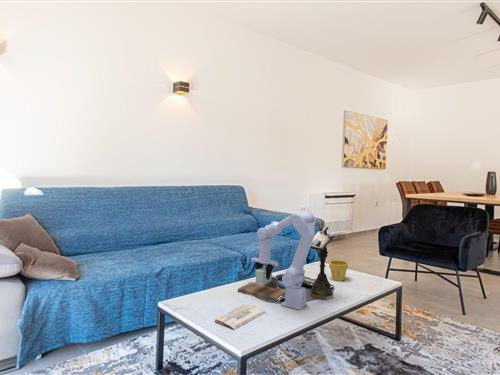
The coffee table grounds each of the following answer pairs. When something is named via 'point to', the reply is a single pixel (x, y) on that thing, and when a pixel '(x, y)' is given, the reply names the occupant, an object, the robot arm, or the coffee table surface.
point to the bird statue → (321, 267)
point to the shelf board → (264, 290)
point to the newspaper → (241, 316)
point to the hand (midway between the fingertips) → (264, 278)
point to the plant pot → (338, 269)
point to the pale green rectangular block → (262, 276)
